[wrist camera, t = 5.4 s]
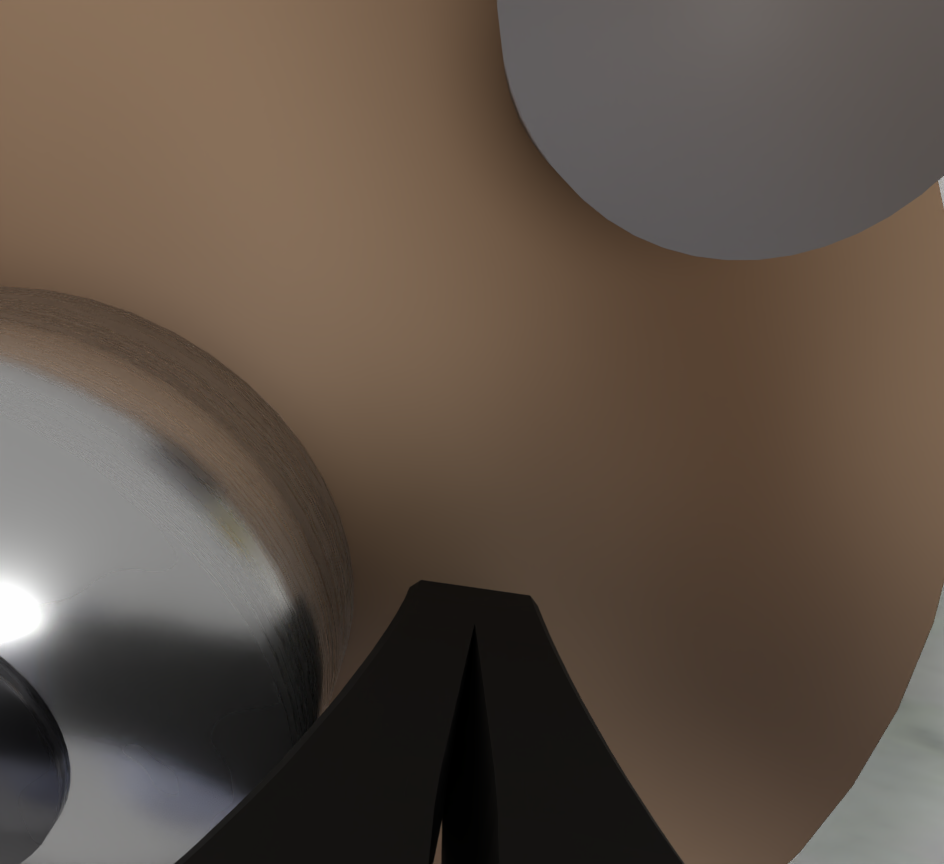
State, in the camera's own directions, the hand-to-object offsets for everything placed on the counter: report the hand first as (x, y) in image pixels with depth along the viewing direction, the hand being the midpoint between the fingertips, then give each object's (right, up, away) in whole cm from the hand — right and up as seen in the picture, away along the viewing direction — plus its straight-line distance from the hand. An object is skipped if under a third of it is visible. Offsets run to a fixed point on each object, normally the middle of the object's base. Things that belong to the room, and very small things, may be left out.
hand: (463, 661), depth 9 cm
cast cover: (-5, +1, +1) cm, 5 cm away
